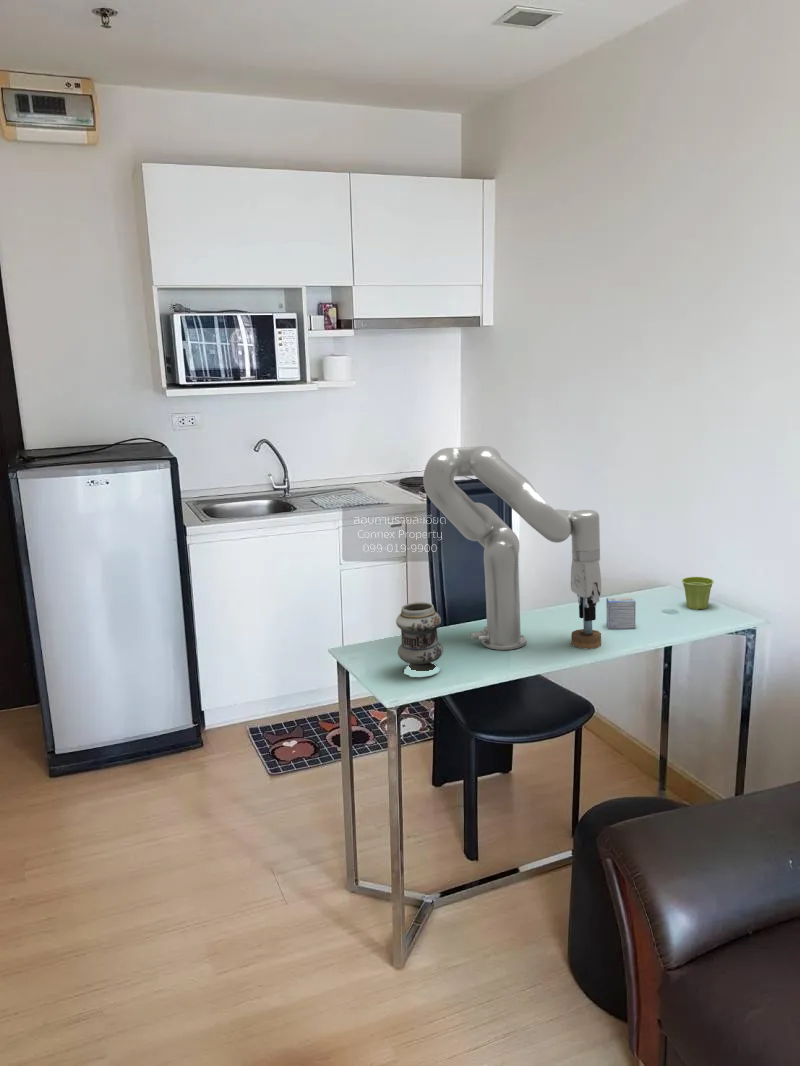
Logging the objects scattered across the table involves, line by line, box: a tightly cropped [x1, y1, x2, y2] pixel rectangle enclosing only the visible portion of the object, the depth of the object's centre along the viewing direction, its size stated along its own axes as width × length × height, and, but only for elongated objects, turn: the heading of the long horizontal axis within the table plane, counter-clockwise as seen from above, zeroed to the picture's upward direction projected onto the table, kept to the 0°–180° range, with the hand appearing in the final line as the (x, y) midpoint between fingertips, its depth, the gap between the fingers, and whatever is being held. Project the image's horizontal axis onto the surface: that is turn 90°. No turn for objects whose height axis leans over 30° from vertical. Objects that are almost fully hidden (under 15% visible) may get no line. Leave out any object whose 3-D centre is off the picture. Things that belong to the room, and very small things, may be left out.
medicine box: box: [605, 596, 637, 630], centre depth 240 cm, size 8×4×9 cm, turn 84°
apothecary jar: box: [395, 601, 444, 671], centre depth 213 cm, size 12×12×18 cm
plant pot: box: [681, 576, 714, 610], centre depth 255 cm, size 9×9×9 cm
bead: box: [570, 628, 602, 650], centre depth 228 cm, size 8×8×3 cm
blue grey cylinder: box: [582, 594, 593, 634], centre depth 227 cm, size 2×2×12 cm
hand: (587, 618), depth 227 cm, fingers closed on blue grey cylinder, 2 cm apart
